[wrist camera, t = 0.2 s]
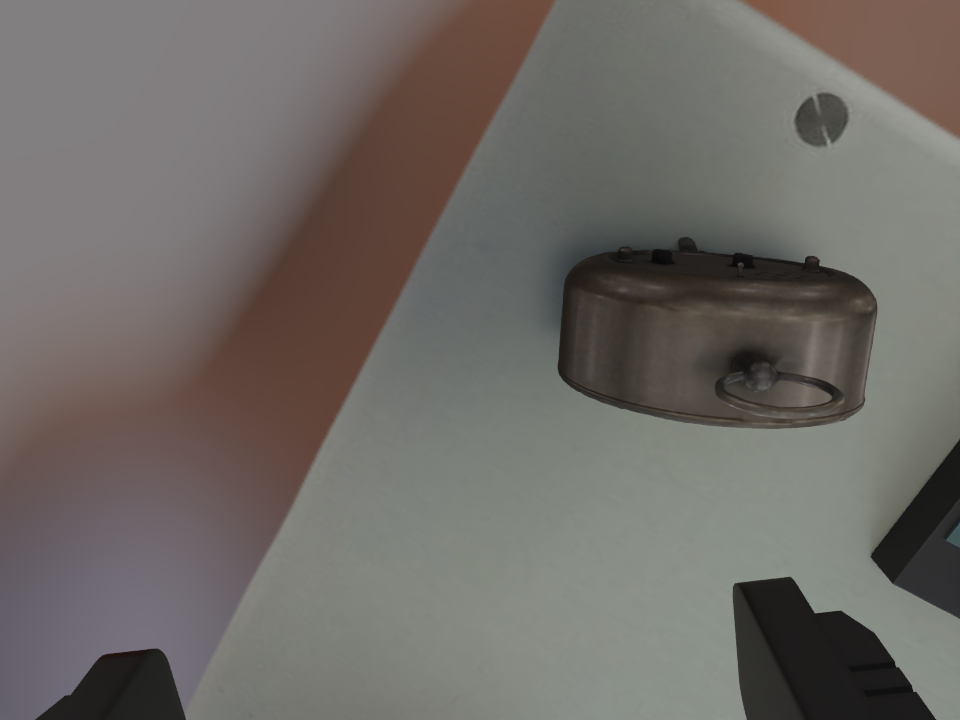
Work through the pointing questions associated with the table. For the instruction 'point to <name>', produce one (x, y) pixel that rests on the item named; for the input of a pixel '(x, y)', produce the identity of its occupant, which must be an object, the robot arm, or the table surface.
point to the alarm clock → (717, 337)
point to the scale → (928, 541)
